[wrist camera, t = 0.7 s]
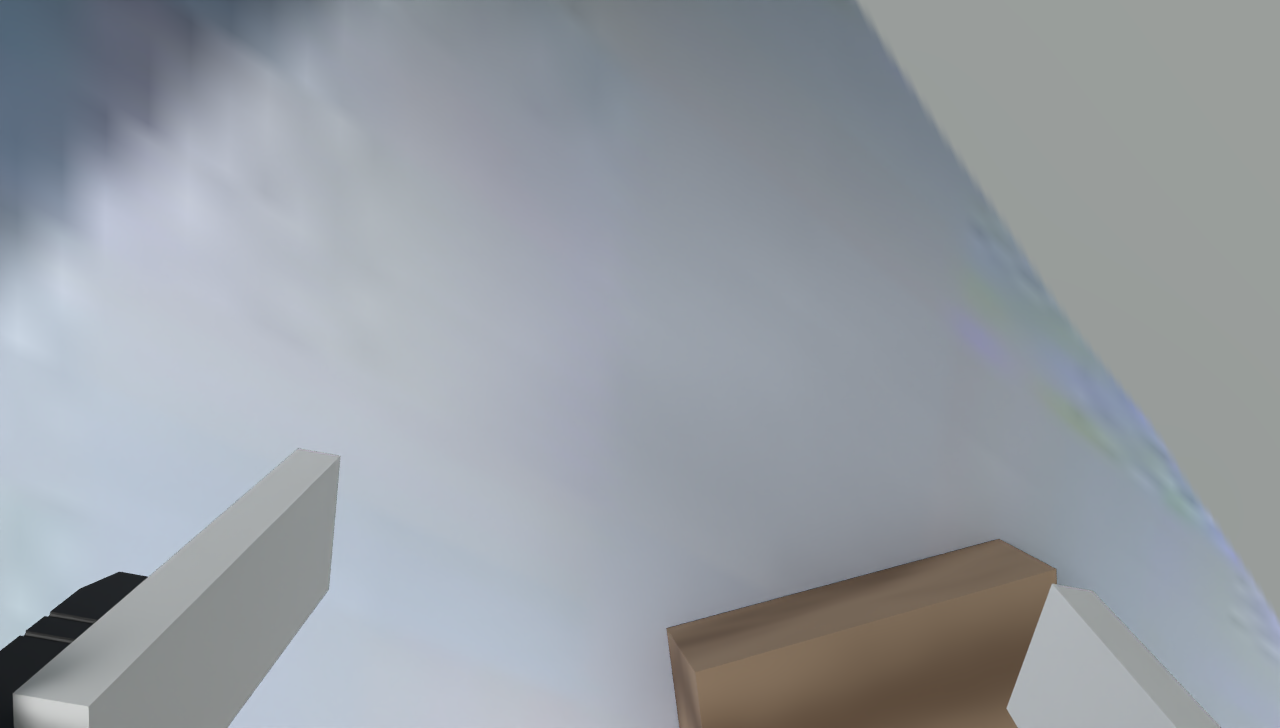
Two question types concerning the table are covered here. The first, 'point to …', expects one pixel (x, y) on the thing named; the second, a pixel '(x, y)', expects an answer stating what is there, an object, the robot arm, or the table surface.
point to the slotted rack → (870, 648)
